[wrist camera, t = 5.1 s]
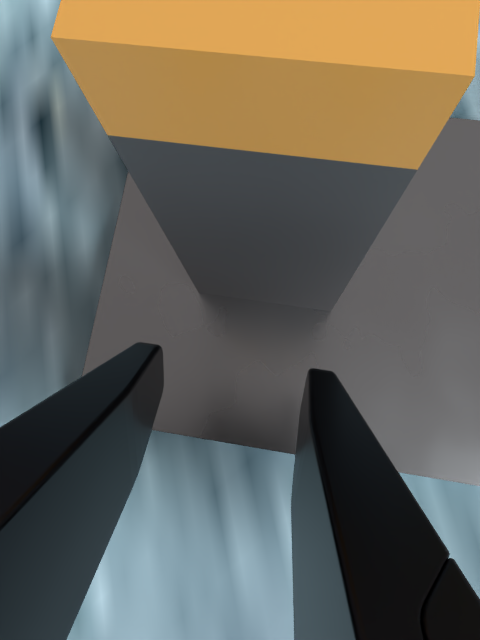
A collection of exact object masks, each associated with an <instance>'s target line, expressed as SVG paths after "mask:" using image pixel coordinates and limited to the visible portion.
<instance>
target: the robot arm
mask: <svg viewBox="0 0 480 640" xmlns="http://www.w3.org/2000/svg"><path fill="white" fill-rule="evenodd" d="M163 388H164V364H163V350H162V347H161V346H160V345H158V344H151V343H144V342H137V343H135V344H133V345H132V346H130V347H129V348H127V349H125V350H124V351H122V352H120V353H119V354H117V355H116V356H114V357H112V358H111V359H109V360H108V361H106V362H104V363H103V364H101V365H100V366H98V367H96V368H95V369H93V370H92V371H90V372H88V373H87V374H85V375H84V376H82V377H80V378H79V379H77V380H76V381H74V382H72V383H71V384H69V385H68V386H66V387H64V388H63V389H61V390H60V391H58V392H56V393H55V394H53V395H52V396H50V397H48V398H47V399H45V400H44V401H42V402H40V403H39V404H37V405H36V406H34V407H32V408H31V409H29V410H27V411H26V412H24V413H23V414H21V415H19V416H18V417H16V418H15V419H13V420H11V421H10V422H8V423H7V424H5V425H3V426H2V427H0V640H67V637H68V635H69V633H70V630H71V628H72V626H73V623H74V621H75V619H76V617H77V614H78V612H79V610H80V607H81V605H82V603H83V600H84V598H85V596H86V594H87V591H88V589H89V587H90V584H91V582H92V580H93V577H94V575H95V573H96V570H97V568H98V566H99V564H100V561H101V559H102V557H103V554H104V552H105V550H106V547H107V545H108V543H109V541H110V538H111V536H112V534H113V531H114V529H115V527H116V524H117V522H118V520H119V518H120V515H121V513H122V511H123V508H124V506H125V504H126V501H127V499H128V497H129V495H130V492H131V490H132V488H133V485H134V483H135V480H136V478H137V475H138V473H139V469H140V466H141V463H142V460H143V457H144V454H145V450H146V447H147V444H148V440H149V437H150V434H151V430H152V427H153V424H154V420H155V417H156V414H157V410H158V407H159V404H160V400H161V397H162V393H163ZM291 522H292V564H293V605H294V640H480V599H479V597H478V596H477V594H476V593H475V591H474V590H473V588H472V587H471V585H470V584H469V582H468V581H467V579H466V578H465V576H464V574H463V573H462V571H461V570H460V568H459V567H458V565H457V563H456V562H455V560H454V559H452V558H449V555H450V554H449V551H448V550H447V548H446V546H445V545H444V543H443V542H442V540H441V539H440V537H439V536H438V534H437V532H436V531H435V529H434V528H433V526H432V525H431V523H430V521H429V520H428V518H427V517H426V515H425V514H424V512H423V510H422V509H421V507H420V506H419V504H418V503H417V501H416V499H415V498H414V496H413V495H412V493H411V492H410V490H409V488H408V487H407V485H406V484H405V482H404V481H403V479H402V477H401V476H400V474H399V473H398V471H397V470H396V468H395V466H394V465H393V463H392V462H391V460H390V459H389V457H388V455H387V454H386V452H385V451H384V449H383V448H382V446H381V445H380V443H379V441H378V440H377V438H376V437H375V435H374V434H373V432H372V430H371V429H370V427H369V426H368V424H367V423H366V421H365V419H364V418H363V416H362V415H361V413H360V412H359V410H358V408H357V407H356V405H355V404H354V402H353V401H352V399H351V397H350V396H349V394H348V393H347V391H346V390H345V388H344V386H343V385H342V383H341V382H340V380H339V379H338V377H337V375H336V374H335V373H334V372H333V371H329V370H323V369H316V368H311V369H309V370H308V373H307V377H306V382H305V387H304V392H303V397H302V402H301V408H300V415H299V425H298V435H297V445H296V455H295V465H294V475H293V485H292V499H291ZM448 558H449V559H448ZM447 559H448V560H447Z"/></svg>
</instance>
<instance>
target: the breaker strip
mask: <svg viewBox="0 0 480 640" xmlns="http://www.w3.org/2000/svg"><path fill="white" fill-rule="evenodd" d="M137 342H144V343H151V344H158V345H160V346H161V347H162V350H163V364H164V388H163V393H162V397H161V400H160V404H159V407H158V410H157V414H156V417H155V420H154V424H153V427H152V430H156V431H161V432H167V433H173V434H179V435H185V436H191V437H196V438H202V439H208V440H214V441H220V442H226V443H231V444H237V445H243V446H249V447H255V448H261V449H266V450H272V451H278V452H284V453H290V454H296V445H297V435H298V425H299V415H300V408H301V402H302V397H303V392H304V387H305V382H306V377H307V373H308V370H309V369H311V368H316V369H323V370H329V371H333V372H334V373H335V374H336V375H337V377H338V379H339V380H340V382H341V383H342V385H343V386H344V388H345V390H346V391H347V393H348V394H349V396H350V397H351V399H352V401H353V402H354V404H355V405H356V407H357V408H358V410H359V412H360V413H361V415H362V416H363V418H364V419H365V421H366V423H367V424H368V426H369V427H370V429H371V430H372V432H373V434H374V435H375V437H376V438H377V440H378V441H379V443H380V445H381V446H382V448H383V449H384V451H385V452H386V454H387V455H388V457H389V459H390V460H391V462H392V463H393V465H394V466H395V468H396V470H397V471H398V472H401V473H407V474H412V475H418V476H424V477H430V478H436V479H442V480H447V481H453V482H459V483H465V484H471V485H477V486H480V121H478V120H468V119H458V118H449V119H448V121H447V122H446V124H445V126H444V127H443V129H442V131H441V132H440V134H439V135H438V137H437V139H436V140H435V142H434V144H433V145H432V147H431V149H430V150H429V152H428V153H427V155H426V157H425V158H424V160H423V162H422V163H421V165H420V167H419V168H418V170H417V171H416V173H415V175H414V176H413V178H412V180H411V181H410V183H409V185H408V186H407V188H406V190H405V191H404V193H403V194H402V196H401V198H400V199H399V201H398V203H397V204H396V206H395V208H394V209H393V211H392V212H391V214H390V216H389V217H388V219H387V221H386V222H385V224H384V226H383V227H382V229H381V230H380V232H379V234H378V235H377V237H376V239H375V240H374V242H373V244H372V245H371V247H370V249H369V250H368V252H367V253H366V255H365V257H364V258H363V260H362V262H361V263H360V265H359V267H358V268H357V270H356V271H355V273H354V275H353V276H352V278H351V280H350V281H349V283H348V285H347V286H346V288H345V289H344V291H343V293H342V294H341V296H340V298H339V299H338V301H337V303H336V304H335V306H334V308H333V309H332V311H325V310H318V309H311V308H304V307H296V306H289V305H282V304H275V303H268V302H261V301H254V300H247V299H240V298H233V297H226V296H219V295H212V294H205V293H199V292H198V291H197V289H196V287H195V285H194V284H193V282H192V280H191V279H190V277H189V275H188V273H187V272H186V270H185V268H184V266H183V265H182V263H181V261H180V260H179V258H178V256H177V254H176V253H175V251H174V249H173V247H172V246H171V244H170V242H169V241H168V239H167V237H166V235H165V234H164V232H163V230H162V228H161V227H160V225H159V223H158V222H157V220H156V218H155V216H154V215H153V213H152V211H151V209H150V208H149V206H148V204H147V203H146V201H145V199H144V197H143V196H142V194H141V192H140V190H139V189H138V187H137V185H136V183H135V182H134V180H133V178H132V177H131V175H130V173H129V171H128V175H127V179H126V183H125V188H124V192H123V197H122V201H121V206H120V210H119V214H118V219H117V223H116V228H115V232H114V237H113V241H112V245H111V250H110V254H109V259H108V263H107V267H106V272H105V276H104V281H103V285H102V290H101V294H100V298H99V303H98V307H97V312H96V316H95V321H94V325H93V329H92V334H91V338H90V343H89V347H88V351H87V356H86V360H85V365H84V369H83V374H82V376H84V375H85V374H87V373H88V372H90V371H92V370H93V369H95V368H96V367H98V366H100V365H101V364H103V363H104V362H106V361H108V360H109V359H111V358H112V357H114V356H116V355H117V354H119V353H120V352H122V351H124V350H125V349H127V348H129V347H130V346H132V345H133V344H135V343H137Z"/></svg>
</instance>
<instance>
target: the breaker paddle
mask: <svg viewBox="0 0 480 640" xmlns="http://www.w3.org/2000/svg"><path fill="white" fill-rule="evenodd" d="M479 9H480V0H61V2H60V6H59V10H58V13H57V17H56V20H55V24H54V28H53V31H52V35H51V38H52V40H53V42H54V44H55V45H56V47H57V49H58V50H59V52H60V54H61V56H62V57H63V59H64V61H65V63H66V64H67V66H68V68H69V69H70V71H71V73H72V75H73V76H74V78H75V80H76V82H77V83H78V85H79V87H80V88H81V90H82V92H83V94H84V95H85V97H86V99H87V101H88V102H89V104H90V106H91V107H92V109H93V111H94V113H95V114H96V116H97V118H98V120H99V121H100V123H101V125H102V126H103V128H104V130H105V132H106V133H107V135H108V137H109V139H110V140H111V142H112V144H113V145H114V147H115V149H116V151H117V152H118V154H119V156H120V158H121V159H122V161H123V163H124V164H125V166H126V168H127V170H128V171H129V173H130V175H131V177H132V178H133V180H134V182H135V183H136V185H137V187H138V189H139V190H140V192H141V194H142V196H143V197H144V199H145V201H146V203H147V204H148V206H149V208H150V209H151V211H152V213H153V215H154V216H155V218H156V220H157V222H158V223H159V225H160V227H161V228H162V230H163V232H164V234H165V235H166V237H167V239H168V241H169V242H170V244H171V246H172V247H173V249H174V251H175V253H176V254H177V256H178V258H179V260H180V261H181V263H182V265H183V266H184V268H185V270H186V272H187V273H188V275H189V277H190V279H191V280H192V282H193V284H194V285H195V287H196V289H197V291H198V292H199V293H205V294H212V295H219V296H226V297H233V298H240V299H247V300H254V301H261V302H268V303H275V304H282V305H289V306H296V307H304V308H311V309H318V310H325V311H332V309H333V308H334V306H335V304H336V303H337V301H338V299H339V298H340V296H341V294H342V293H343V291H344V289H345V288H346V286H347V285H348V283H349V281H350V280H351V278H352V276H353V275H354V273H355V271H356V270H357V268H358V267H359V265H360V263H361V262H362V260H363V258H364V257H365V255H366V253H367V252H368V250H369V249H370V247H371V245H372V244H373V242H374V240H375V239H376V237H377V235H378V234H379V232H380V230H381V229H382V227H383V226H384V224H385V222H386V221H387V219H388V217H389V216H390V214H391V212H392V211H393V209H394V208H395V206H396V204H397V203H398V201H399V199H400V198H401V196H402V194H403V193H404V191H405V190H406V188H407V186H408V185H409V183H410V181H411V180H412V178H413V176H414V175H415V173H416V171H417V170H418V168H419V167H420V165H421V163H422V162H423V160H424V158H425V157H426V155H427V153H428V152H429V150H430V149H431V147H432V145H433V144H434V142H435V140H436V139H437V137H438V135H439V134H440V132H441V131H442V129H443V127H444V126H445V124H446V122H447V121H448V119H449V117H450V116H451V114H452V113H453V111H454V109H455V108H456V106H457V104H458V103H459V101H460V99H461V98H462V96H463V94H464V93H465V91H466V90H467V88H468V86H469V85H470V83H471V81H472V80H473V78H474V76H475V65H476V51H477V37H478V23H479Z"/></svg>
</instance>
